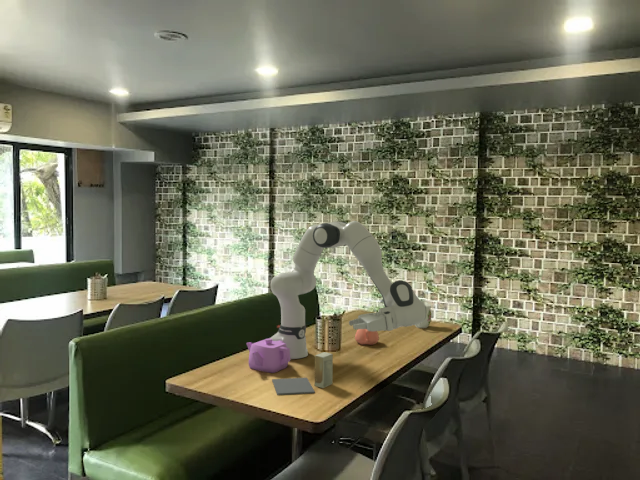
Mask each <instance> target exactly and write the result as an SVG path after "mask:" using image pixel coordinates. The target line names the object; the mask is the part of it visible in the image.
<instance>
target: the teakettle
mask: <svg viewBox="0 0 640 480" xmlns="http://www.w3.org/2000/svg"><path fill="white" fill-rule="evenodd" d="M270 338H271V337H269V338H265V339H262V340H259V341H257V342H252V341H251V342H246V343H245V344H246V347H247V349H248V351H249V354H248V367H249V369H251V370H255V371H259V372H264V373H271V374H274V373H277V372H280V371H282V370H284V369H286V368H287V367H288V364H289V363H290V362H291V359H290V348H287V347H286V344H285V343H284V342H283V341H280V340H279V341H272V340H273V339H270Z"/></svg>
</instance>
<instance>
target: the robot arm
mask: <svg viewBox="0 0 640 480" xmlns="http://www.w3.org/2000/svg"><path fill="white" fill-rule="evenodd" d="M345 246H347V247H348V249H349V251H351V253H352V254H353V256H354V257H355V258H356V260H357V261H358V262H359V263H360V265H361V266H362V267H363V269H364V270H365V272H366V273H367V274H368V277H369V278H370V280H371V281H372V283H373V284H374V286H375V288H377V290H378V292H379V293H380V296H381V297H382V301H383V304H384V307H381V308H379V309H378V311H377V312H368V313H362V314H359V315H357V317H356V318H355V319H352V320H349V321H348V325H349V326H352V327H353V330H354V331H355V330H356V331H357V330H358V329H367V330H368V331H377V332H380V331H384V332H385V331H387V332H390V331H393V330H396V329H398V328H400V327H405V328H406V327H413V326H415V325H416V324H419V323H422V322H423V321H424V320H425V318H426V306H425V304H424V302H425V301H422V300H421V299H420V298H419V297H418V296H417V294H416V293H415V291H414V290H413V288H412V285H411V284H410V283H409V282H407V281H405V280H402V279H401V280H395V281H394V282H393V283H392V281H391V280H390V278H389V276H387V274H386V272H385V270H384V266H383V259H382V258H383V257H382V254H383V253H382V248H381V246H380V244H379V242H378V241H377V239H376V238H375V237H374V236H373V234H372V232H370V231H369V230H368V229H367V228H366V227H365V225H364V224H363V223H361V222H360V221H356V220H353V221H349V222H345V221H332V222H331V221H330V222H323V223H320V224H318V225H317V224H313V225H310V226H309V227H307V229H306V231H305V232H304V234H303V236H302V237H301V239H300V241H299V243H298V244H297V246H296V248H295V249H296V250H295V251H294V254H293V255H292V260H293V263H294V269H293V270H292V271H290V272H289V271H288V272H282V273H278V274H276V275H275V276H273V277H272V278H271V280H270V284H269V287H270V290H271V293H272V294H273V295H274V296H276V298H277V300H278V302H279V306H280V315H281V316H280V318H281V319H280V323H281V324H278V325H276V328H277V329H278V330H277V332H276V333H274V335H272V336H271V337H269V338H270V339H273V340H272V341H279V340H280V341H283V342H284V343H285V344H286V347H287V348H290V360H295V359H297V360H299V359H303V358H306V357H307V356H309V354H308V352H309V351H308V348H307V338H306V337H307V336H306V331H307V325H306V309H305V307H304V305H303V304H301V303H300V299H299V296H300V295H304V294H307V293H310V292H311V291H313V290H314V289H315V288H316V286H317V279H316V276H315V270H316V266H317V264H318V261H319V260H320V258H321V255H322V253H323V250H324V249H330V248H331V249H336V248H339V247H345Z"/></svg>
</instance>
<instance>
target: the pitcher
mask: <svg viewBox="0 0 640 480" xmlns="http://www.w3.org/2000/svg"><path fill="white" fill-rule="evenodd" d="M423 302H424V304H425V306H426V318H425V320H424V321H423V322H422V323H419V324H416V325H414V326H415V327H416V328H418V329H427V328H428V327H429V326H430V324H431V321H432V310H431V308H432V304H431V303H428V301H423Z"/></svg>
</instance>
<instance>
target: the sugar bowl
mask: <svg viewBox="0 0 640 480" xmlns="http://www.w3.org/2000/svg"><path fill="white" fill-rule="evenodd" d="M354 339H355V341H356V342H357V344H360V345H362V346H363V345H369V346H374V345H375V344H377V343H378V342H379V339H380V336H379V331H368V330H367V329H356V332H355V336H354Z"/></svg>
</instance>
